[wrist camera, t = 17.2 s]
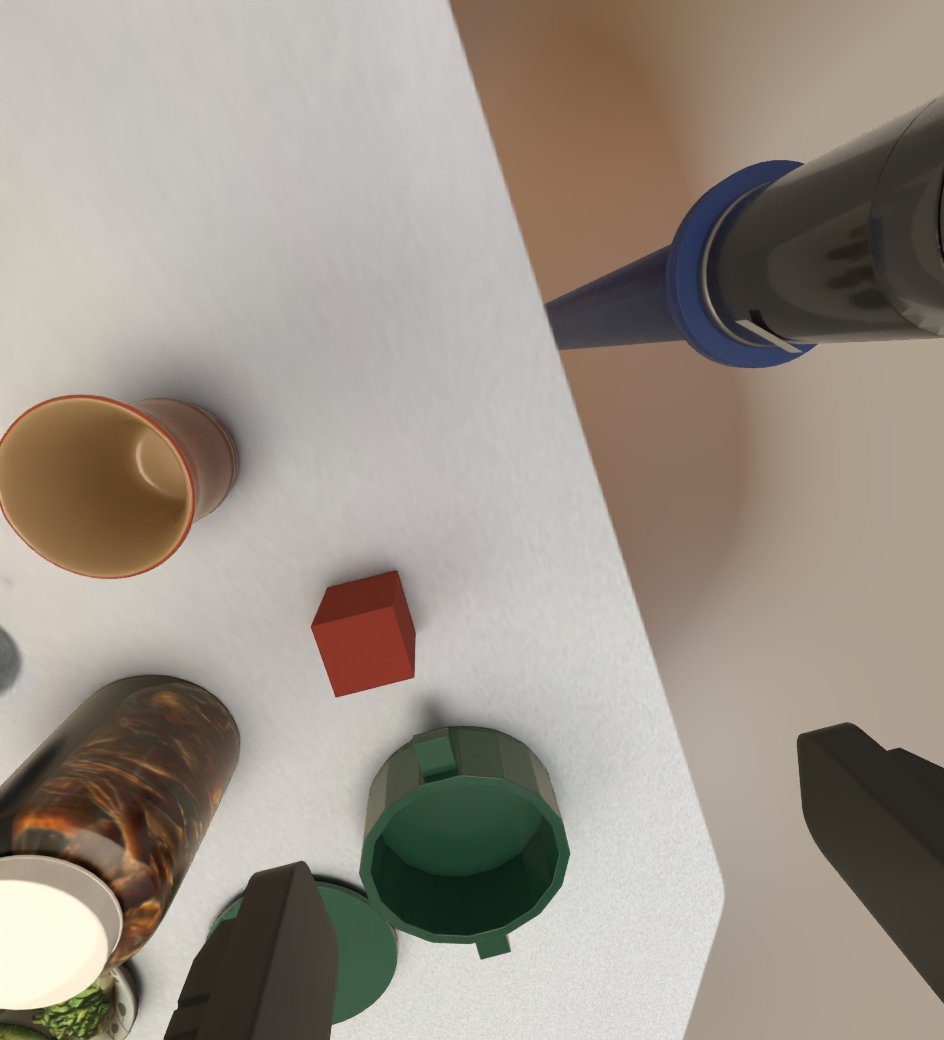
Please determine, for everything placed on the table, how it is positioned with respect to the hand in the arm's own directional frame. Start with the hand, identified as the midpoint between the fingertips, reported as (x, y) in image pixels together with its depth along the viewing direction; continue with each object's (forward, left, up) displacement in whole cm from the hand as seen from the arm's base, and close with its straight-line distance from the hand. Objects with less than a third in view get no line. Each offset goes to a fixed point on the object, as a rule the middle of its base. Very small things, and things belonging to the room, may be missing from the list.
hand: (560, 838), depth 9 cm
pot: (+6, +26, -30) cm, 40 cm away
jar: (+26, +14, -30) cm, 42 cm away
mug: (+18, -6, -30) cm, 36 cm away
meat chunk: (+8, +8, -30) cm, 32 cm away
